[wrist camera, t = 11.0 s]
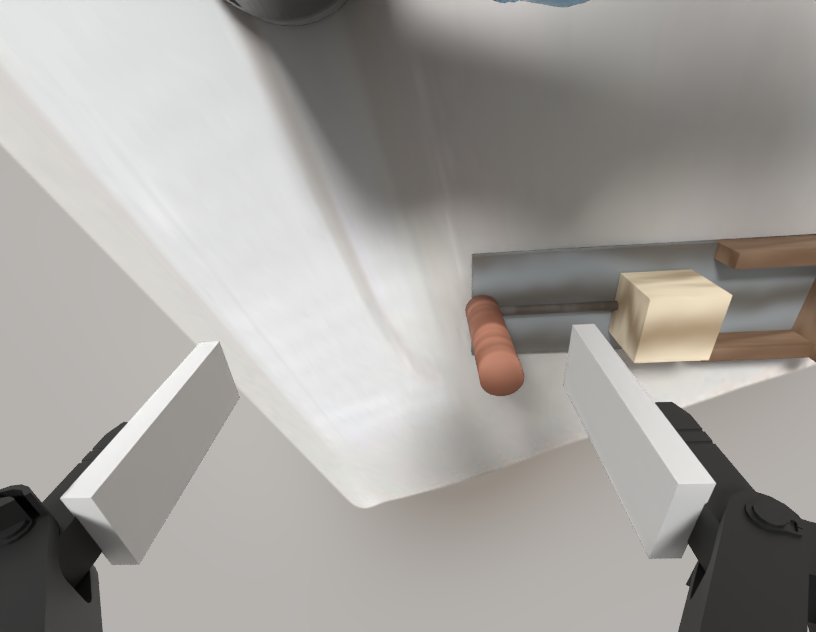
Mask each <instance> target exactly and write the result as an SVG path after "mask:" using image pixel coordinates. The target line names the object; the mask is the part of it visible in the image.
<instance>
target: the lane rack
mask: <svg viewBox="0 0 816 632" xmlns="http://www.w3.org/2000/svg"><path fill="white" fill-rule="evenodd" d="M685 269H692V270H694V271H695V272H697V273H698V274H700V275H702V276H703V277H705V278H706V279H708V280H709V281H711V282H713V283H714V284H716V285H717V286H719V287H720V288H722V289H724V290H725V291H727V292H728V293H730V294H731V295H733V296H732V298H731V301H730V304H729V307H728V309H727V312H726V315H725V317H724V320H723V323H722V326H721V328H720V331H719V334H718V336H717V339H716V342H715V345H714V347H713V350H712V353H711V355H710V358H709V360H700V361H701V362H705V361H730V360H754V359H779V358H803V357H809V358H810V359H812V360H813V361H815V362H816V234H808V235H791V236H774V237H757V238H740V239H722V240H705V241H688V242H671V243H654V244H637V245H620V246H603V247H586V248H569V249H552V250H535V251H518V252H501V253H484V254H472V298H474V297H476V296H479V295H488V296H491V297H493V298H494V299H495V300H496V301H497V303H498V305H499V307H501V306H521V305H541V304H561V303H581V302H600V301H615V297H616V293H617V288H618V283H619V278H620V273H630V272H648V271H666V270H685ZM612 312H613V310H609V311H589V312H569V313H548V314H528V315H507V316H503V319H504V321H505V324H506V327H507V329H508V332H509V335H510V337H511V340H512V343H513V346H514V348H515V351H516V353H535V352H558V351H569V345H570V338H571V332H572V325H579V324H595V325H596V327H597V328H598V329H599V330H600V332H601V333H602V334H603V336H604V337H605V338H606V340H607V341H608V342H609V344H610V345H611V346H612V348H613V349H622V347H621V346H620V345H619V344H618V342H617V341H616V340H615V339H614V337H613V336H612V335H611V334H610V332H609V326H610V322H611V317H612ZM471 352H472V355H474V350H473V345H472V340H471Z"/></svg>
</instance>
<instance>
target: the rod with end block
mask: <svg viewBox="0 0 816 632" xmlns="http://www.w3.org/2000/svg"><path fill="white" fill-rule="evenodd" d="M732 296H733V295H731V294H730V293H728V292H727V291H725V290H724V289H722V288H720V287H719V286H717V285H716V284H714V283H713V282H711V281H709V280H708V279H706V278H705V277H703V276H702V275H700V274H698V273H697V272H695V271H694V270H692V269H685V270H666V271H648V272H630V273H620V278H619V283H618V288H617V293H616V297H615V301H600V302H581V303H561V304H541V305H521V306H501V307H499V305H498V303H497V301H496V300H495V299H494V298H493V297H491V296H488V295H479V296H476V297H474V298H472V299H471V300H470V301H469V302H468V304H467V306H466V316H467V321H468V326H469V331H470V335H471V340H472V345H473V350H474V355H475V360H476V364H477V369H478V374H479V379H480V384H481V386H482V388H483V389H484V390H485V391H486V392H487V393H489V394H491V395H495V396H505V395H509V394H512V393H514V392H515V391H517V390H518V389H519V388H520V387H521V386H522V384H523V382H524V373H523V370H522V367H521V364H520V362H519V359H518V356H517V354H516V351H515V348H514V346H513V343H512V340H511V337H510V335H509V332H508V329H507V327H506V324H505V321H504V319H503V316H507V315H528V314H548V313H569V312H589V311H609V310H613V312H612V317H611V322H610V326H609V332H610V334H611V335H612V336H613V337H614V339H615V340H616V341H617V342H618V344H619V345H620V346H621V347H622V349H623V350H624V351H625V352H626V354H627V355H628V356H629V357H630V359H631V360H632V361H633V362H634V363H651V362H676V361H700V360H709V358H710V355H711V353H712V350H713V347H714V345H715V342H716V339H717V336H718V334H719V331H720V328H721V326H722V323H723V320H724V317H725V315H726V312H727V309H728V307H729V304H730V301H731V298H732Z"/></svg>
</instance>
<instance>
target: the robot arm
mask: <svg viewBox="0 0 816 632" xmlns="http://www.w3.org/2000/svg"><path fill="white" fill-rule="evenodd" d="M226 1H228V2H229V3H231V4H232V5H233V6H235V7H237V8H238V9H240V10H242V11H244V12H246V13H248V14H250V15H252V16H254V17H256V18H258V19H261V20H263V21H266V22H270V23H274V24H278V25H287V26H296V25H305V24H309V23H313V22H316V21H319V20H321V19H323V18H325V17H327V16H329V15H330V14H332V13H333V12H335V11H336V10H338V9H339V8H340V7H341V6H342V5H343V4H344V3H346V2H347V1H348V0H226ZM494 1H496V2H500V3H506V2H516V1H519V0H494ZM521 1H527V2H532V3H538V4H544V5H550V6H556V7H569V6H572V5H576V4H581V3H585V2H587V1H588V0H521ZM563 385H564V387H565V389H566V391H567V393H568V395H569V397H570V399H571V402H572V404H573V406H574V408H575V410H576V412H577V414H578V416H579V418H580V420H581V422H582V424H583V426H584V428H585V430H586V432H587V434H588V436H589V438H590V440H591V442H592V444H593V446H594V448H595V450H596V452H597V454H598V456H599V458H600V460H601V462H602V464H603V466H604V468H605V470H606V472H607V474H608V476H609V479H610V481H611V483H612V485H613V487H614V489H615V491H616V493H617V495H618V497H619V499H620V501H621V503H622V505H623V507H624V509H625V511H626V513H627V515H628V517H629V519H630V521H631V523H632V525H633V527H634V529H635V531H636V533H637V535H638V537H639V539H640V541H641V543H642V545H643V547H644V549H645V551H646V553H647V555H648V557H649V559H650V558H651V559H652V558H682V556H683V554H684V551H685V549H686V547H687V545H688V544H689V546H690V547H691V549H692V551H693V552H694V554H695V556H696V557H697V559H698V562H697V564H696V566H695V568H694V570H693V572H692V574H691V576H690V578H689V580H688V582H687V583H686V585H688V586H689V587H690V588H689V592H688V595H687V600H686V603H685V607H684V611H683V615H682V619H681V623H680V626H679V631H678V632H807V624H808V628H809V632H816V523H814V522H809V521H806V520H803V519H801V518H800V517H799V516H798V515H797V514H796V513H795V512H794V511H792V510H791V509H790V508H789V507H788V506H786V505H785V504H783V503H781V502H779V501H778V500H776V499H774V498H772V497H770V496H767V495H764V494H761V493H758V492H756V491H755V490H754V489H752V487H751V486H750V485H749V484H748V482H747V481H746V480H745V479H744V478H743V477H742V475H741V474H740V473H739V472H738V470H737V469H736V468H735V467H734V466H733V465H732V463H731V462H730V461H729V460H728V459H727V457H726V456H725V455H724V454H723V453H722V452H721V451H720V449H719V448H718V447H717V446H716V444H713V443H712V440H711V439H710V437H709V436H708V435H707V434H706V433H705V432H703V431H702V428H701V427H700V426H699V424H698V423H697V422H696V421H695V420H694V418H693V417H692V416H691V415H690V414H689V413H687V412H686V411H684V410H683V409H682V408H680V407H679V406H677V405H676V404H674V403H673V402H655V403H654V401H653V400H652V399H651V397H650V396H649V395H648V393H647V392H646V391H645V389H644V388H643V387H642V386H641V384H640V383H639V382H638V380H637V379H636V378H635V376H634V375H633V374H632V372H631V371H630V370H629V368H628V367H627V366H626V365H625V363H624V362H623V361H622V359H621V358H620V357H619V355H618V354H617V353H616V351H615V350H614V349H613V348H612V346H611V345H610V344H609V342H608V341H607V340H606V338H605V337H604V336H603V334H602V333H601V332H600V330H599V329H598V328H597V327H596V325H595V324H579V325H572V332H571V338H570V345H569V351H568V358H567V364H566V371H565V378H564V384H563ZM239 398H240V396H239V394H238V391H237V388H236V386H235V383H234V380H233V377H232V375H231V372H230V369H229V366H228V364H227V361H226V358H225V356H224V353H223V350H222V347H221V345H220V342H200V343H199V344H198V345H197V346H196V347H195V349H194V350H193V351H192V352H191V353H190V354H189V355H188V356H187V357H186V359H185V360H184V361H183V362H182V363H181V364H180V365H179V366H178V367H177V369H176V370H175V371H174V372H173V373H172V374H171V375H170V377H168V379H167V380H166V381H165V382H164V383H163V384H162V385H161V386H160V387H159V389H158V390H157V391H156V392H155V393H154V394H153V395H152V396H151V397H150V399H149V400H148V401H147V402H146V403H145V404H144V405H143V406H142V408H141V409H140V410H139V411H138V412H137V413H136V414H135V415H134V416H133V418H132V419H131V420H130V421H129V422H123V423H122V424H120V425H119V426H117V427H116V428H114V429H113V430H111V431H110V432H109V433H107V434H106V435H105V436H104V437H103V438H102V439H101V440H100V441H99V442H98V443H97V444H96V446H95V447H94V448H93V451H90V452H89V453H88V454H87V455H86V456H85V457H84V458H83V460H82V463H79V464H78V465H77V466H76V467H75V468H74V469H73V470H72V471H71V472H70V473H69V474H68V476H67V477H66V478H65V479H64V480H63V481H62V482H61V483H60V484H59V485H58V486H57V488H55V489H54V491H53V492H52V493H51V494H50V495H49V496H48V497H47V498H46V499H45V500H44V501H43V502H41V501H40V500H39V499H38V498H37V497H36V495H35V494H34V493H33V492H32V490H31V489H30V488H29V487H28V486H24V485H14V486H9V487H6V488H3V489H1V490H0V632H103V631H102V619H101V606H100V593H99V581H98V572H97V571H96V568H95V567H94V565H93V564H94V562H95V561H96V560H97V558H98V557H99V555H100V554H101V552H102V553H103V554H104V555H105V557H106V558H107V559H108V560H109V562H110V563H111V564H112V565H126V564H127V565H129V564H130V565H132V564H133V565H134V564H135V565H136V564H140V562H141V561H142V559H143V557H144V556H145V554H146V552H147V551H148V549H149V547H150V546H151V544H152V542H153V541H154V539H155V537H156V536H157V534H158V532H159V531H160V529H161V528H162V526H163V524H164V522H165V521H166V519H167V518H168V516H169V514H170V513H171V511H172V509H173V507H174V506H175V504H176V503H177V501H178V499H179V498H180V496H181V494H182V493H183V491H184V489H185V488H186V486H187V484H188V483H189V481H190V479H191V478H192V476H193V474H194V473H195V471H196V469H197V468H198V466H199V464H200V463H201V461H202V459H203V458H204V456H205V454H206V453H207V451H208V449H209V448H210V446H211V444H212V443H213V441H214V440H215V438H216V436H217V435H218V433H219V431H220V429H221V428H222V426H223V425H224V423H225V421H226V420H227V418H228V416H229V414H230V413H231V411H232V410H233V408H234V406H235V405H236V403H237V401H238V400H239Z"/></svg>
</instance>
